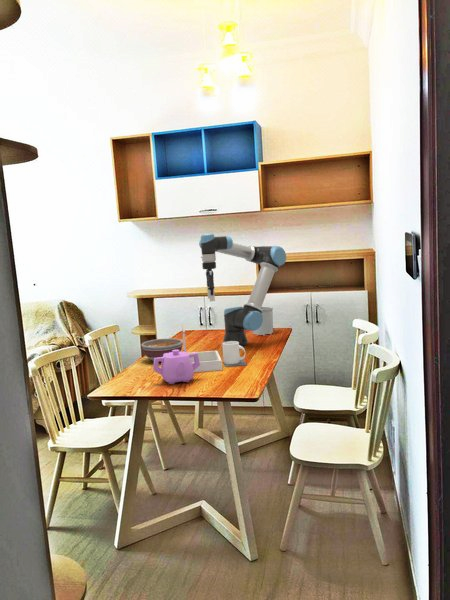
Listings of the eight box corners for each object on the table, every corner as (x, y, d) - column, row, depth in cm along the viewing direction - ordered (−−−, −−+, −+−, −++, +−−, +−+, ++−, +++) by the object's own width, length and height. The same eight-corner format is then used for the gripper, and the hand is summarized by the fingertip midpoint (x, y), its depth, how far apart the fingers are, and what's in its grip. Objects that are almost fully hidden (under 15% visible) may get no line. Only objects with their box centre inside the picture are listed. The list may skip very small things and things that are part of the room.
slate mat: (243, 360, 303) (243, 359, 303) (246, 365, 293) (246, 364, 292) (223, 362, 302) (223, 361, 302) (225, 367, 291) (225, 365, 291)
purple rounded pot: (184, 387, 257) (182, 355, 255) (150, 385, 265) (148, 353, 263) (204, 377, 274) (202, 346, 273) (171, 374, 282) (169, 345, 281)
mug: (243, 365, 291) (242, 344, 290) (221, 364, 295) (220, 344, 293) (248, 361, 299) (246, 341, 298) (226, 360, 303) (225, 341, 301)
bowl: (135, 364, 310) (133, 346, 309) (154, 354, 331) (153, 338, 330) (173, 365, 302) (171, 347, 301) (190, 355, 323) (189, 338, 322)
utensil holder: (267, 336, 367) (265, 309, 365) (247, 335, 375) (246, 309, 373) (277, 332, 379) (276, 306, 377) (258, 331, 387) (257, 305, 385)
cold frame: (217, 359, 310) (215, 321, 307) (222, 370, 286) (219, 329, 283) (184, 362, 308) (181, 324, 305) (185, 373, 284) (182, 331, 281)
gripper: (200, 261, 326) (203, 297, 328) (203, 263, 301) (206, 302, 304) (213, 260, 327) (215, 296, 329) (217, 262, 302) (220, 301, 304)
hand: (211, 299), depth 316 cm, fingers open, 13 cm apart
